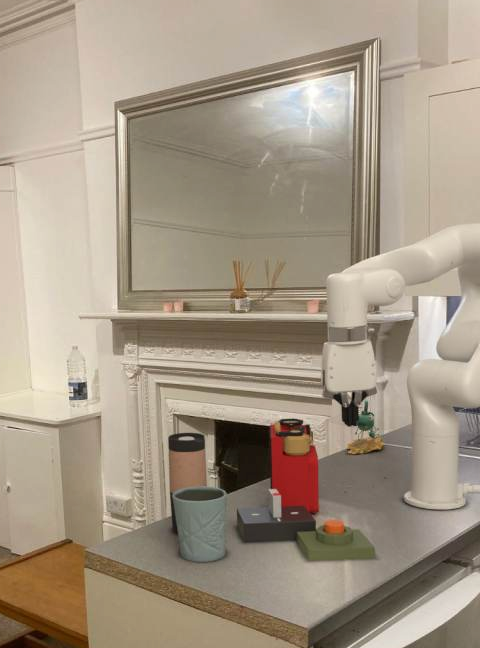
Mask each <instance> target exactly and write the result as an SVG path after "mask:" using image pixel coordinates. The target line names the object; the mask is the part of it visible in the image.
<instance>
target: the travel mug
mask: <svg viewBox="0 0 480 648" xmlns="http://www.w3.org/2000/svg"><path fill="white" fill-rule="evenodd" d="M167 439H168V440H167V442H168V443H167V444H168V447H167V448H168V475H169V476H168V477H169V479H168V480H169V498H170V511H171V512H170V513H171V527H172V532H173V533H174V534H176V535H178V531H177V529H178V528H177V525H176V524H177V523H176V522H177V521H176V516H175V510H174V503H173V497H172V495H173V493H174V492H175V491H177V490H180V489H183V488H189V487H197V486H206V487H208V485H207V484H208V482H207V459H206V456H207V455H206V440H205V439H206V438H205V435H204V434H202V433H197V432H178V433H173V434H170V435H168V437H167Z"/></svg>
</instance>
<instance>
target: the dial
mask: <svg viewBox="0 0 480 648" xmlns="http://www.w3.org/2000/svg"><path fill="white" fill-rule="evenodd" d="M267 491H268V492H267V493H268V507H269V511H270V513H271V515H272V516H273V518H281V495H280V494H279V492H278V491H277V489H271V488H268V490H267Z"/></svg>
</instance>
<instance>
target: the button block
mask: <svg viewBox="0 0 480 648" xmlns="http://www.w3.org/2000/svg"><path fill="white" fill-rule="evenodd" d="M296 544H297V545H298V547H299V548H300V550H301V551H302V554H304V556H305V558H306V559H307V561H308V562H317V561H319V562H320V561H343V560H345V561H346V560H365V559H368V560H369V559H370V560H371V559H376V548H375V546H374V544H373V543H372V542H371V541H370V539H368V538H367V537H366V536H365V535H364V533H362V531H361V530H360V528H359V529H358V528H356V529H355V528H354V529H352V528H351V527H349V526H346V525H344V533H341V534H331V533H327V532H324V524H323V525H319V526H318V527H316V531H307V532H297V541H296Z"/></svg>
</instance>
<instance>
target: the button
mask: <svg viewBox="0 0 480 648" xmlns="http://www.w3.org/2000/svg"><path fill="white" fill-rule="evenodd" d="M323 525H324V532H327V533H331V534H341V533H344V526H345V522H344V521H342V520H336V519H331V520H330V519H329V520H326V521H324V523H323Z"/></svg>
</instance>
